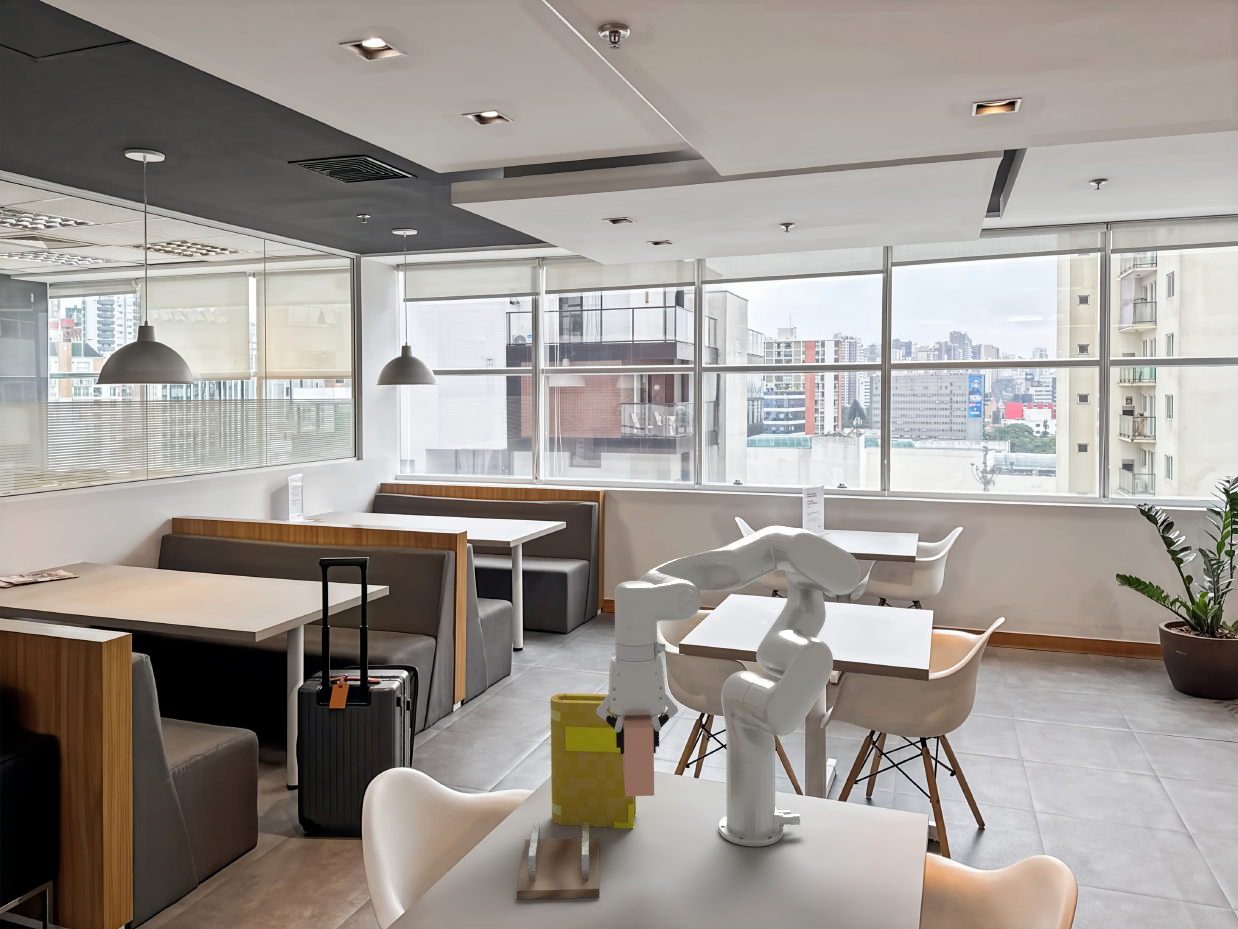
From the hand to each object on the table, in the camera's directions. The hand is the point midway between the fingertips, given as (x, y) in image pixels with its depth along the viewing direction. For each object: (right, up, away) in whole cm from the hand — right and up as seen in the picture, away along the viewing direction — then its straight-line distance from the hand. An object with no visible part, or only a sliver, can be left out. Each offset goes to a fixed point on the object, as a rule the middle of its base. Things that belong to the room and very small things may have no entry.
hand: (637, 749), depth 154 cm
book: (-9, -21, +21) cm, 31 cm away
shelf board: (-14, -22, 0) cm, 26 cm away
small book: (0, -6, 0) cm, 6 cm away
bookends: (-14, -21, 0) cm, 25 cm away
